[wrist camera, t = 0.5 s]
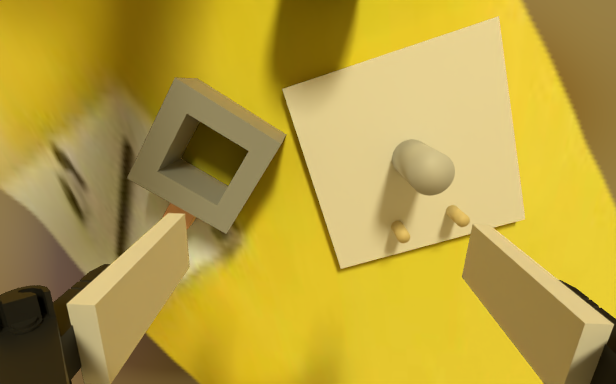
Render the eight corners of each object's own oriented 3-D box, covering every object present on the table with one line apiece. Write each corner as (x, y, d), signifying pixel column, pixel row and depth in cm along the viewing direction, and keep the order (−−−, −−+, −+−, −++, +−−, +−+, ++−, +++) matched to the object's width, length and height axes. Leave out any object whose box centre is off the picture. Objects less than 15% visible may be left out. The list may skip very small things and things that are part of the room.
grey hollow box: (197, 78, 35) (175, 77, 30) (286, 134, 37) (281, 143, 31) (140, 192, 39) (111, 210, 34) (223, 237, 41) (208, 262, 35)
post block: (283, 88, 36) (274, 90, 28) (492, 18, 33) (547, -2, 25) (340, 263, 42) (346, 304, 34) (519, 215, 40) (569, 247, 32)
